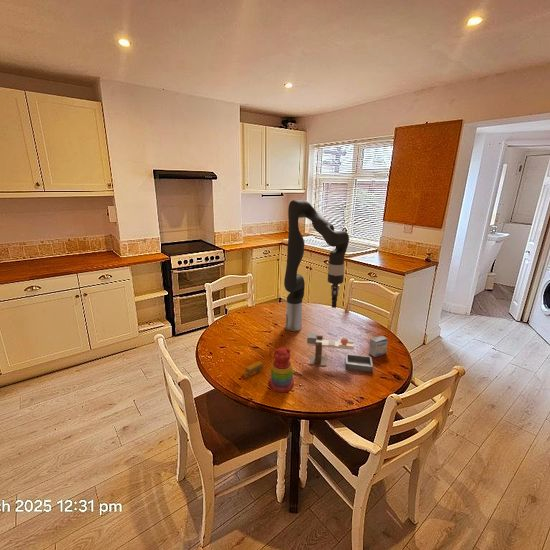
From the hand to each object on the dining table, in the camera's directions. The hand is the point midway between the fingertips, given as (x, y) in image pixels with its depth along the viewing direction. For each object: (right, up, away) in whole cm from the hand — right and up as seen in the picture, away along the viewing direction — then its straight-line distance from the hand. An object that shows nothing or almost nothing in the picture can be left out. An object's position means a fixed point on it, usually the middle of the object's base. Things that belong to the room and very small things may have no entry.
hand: (334, 305), depth 148 cm
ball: (+3, -16, -8) cm, 18 cm away
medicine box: (+23, -25, +4) cm, 34 cm away
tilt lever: (-3, -18, -6) cm, 19 cm away
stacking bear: (-26, -32, -20) cm, 46 cm away
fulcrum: (-8, -27, -2) cm, 28 cm away
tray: (+10, -28, -6) cm, 30 cm away
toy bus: (-40, -30, -11) cm, 51 cm away
